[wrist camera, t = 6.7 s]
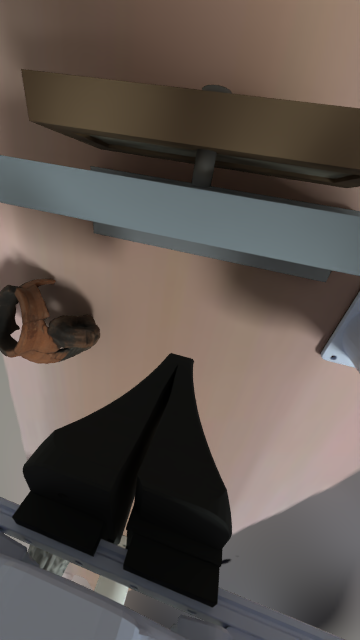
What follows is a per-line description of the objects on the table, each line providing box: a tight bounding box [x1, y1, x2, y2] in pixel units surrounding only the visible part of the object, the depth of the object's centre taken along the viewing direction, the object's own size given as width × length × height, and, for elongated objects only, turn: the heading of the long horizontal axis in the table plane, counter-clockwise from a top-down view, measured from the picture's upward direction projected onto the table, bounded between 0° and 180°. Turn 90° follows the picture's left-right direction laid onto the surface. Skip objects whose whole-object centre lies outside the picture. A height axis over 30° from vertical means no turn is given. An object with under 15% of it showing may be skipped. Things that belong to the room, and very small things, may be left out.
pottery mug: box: [0, 279, 100, 364], centre depth 24 cm, size 12×10×8 cm
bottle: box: [94, 535, 129, 605], centre depth 50 cm, size 8×8×28 cm
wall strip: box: [0, 155, 360, 282], centre depth 14 cm, size 20×5×10 cm, turn 81°
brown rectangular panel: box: [21, 69, 360, 188], centre depth 11 cm, size 16×3×6 cm, turn 81°
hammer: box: [28, 545, 69, 577], centre depth 51 cm, size 15×10×30 cm
